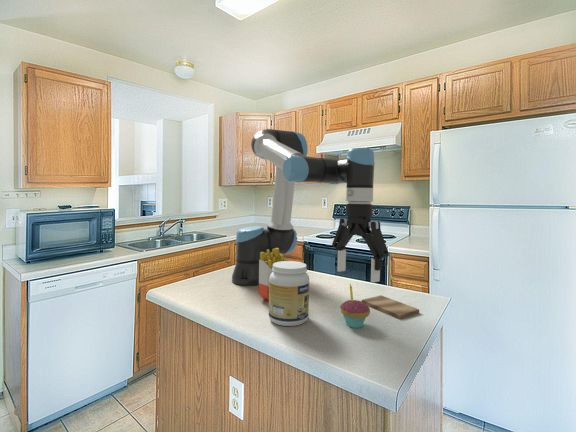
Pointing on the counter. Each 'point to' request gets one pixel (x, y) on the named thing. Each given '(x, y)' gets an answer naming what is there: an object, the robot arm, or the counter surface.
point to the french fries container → (267, 270)
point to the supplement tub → (288, 293)
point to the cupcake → (354, 311)
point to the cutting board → (390, 306)
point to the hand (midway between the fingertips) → (357, 276)
